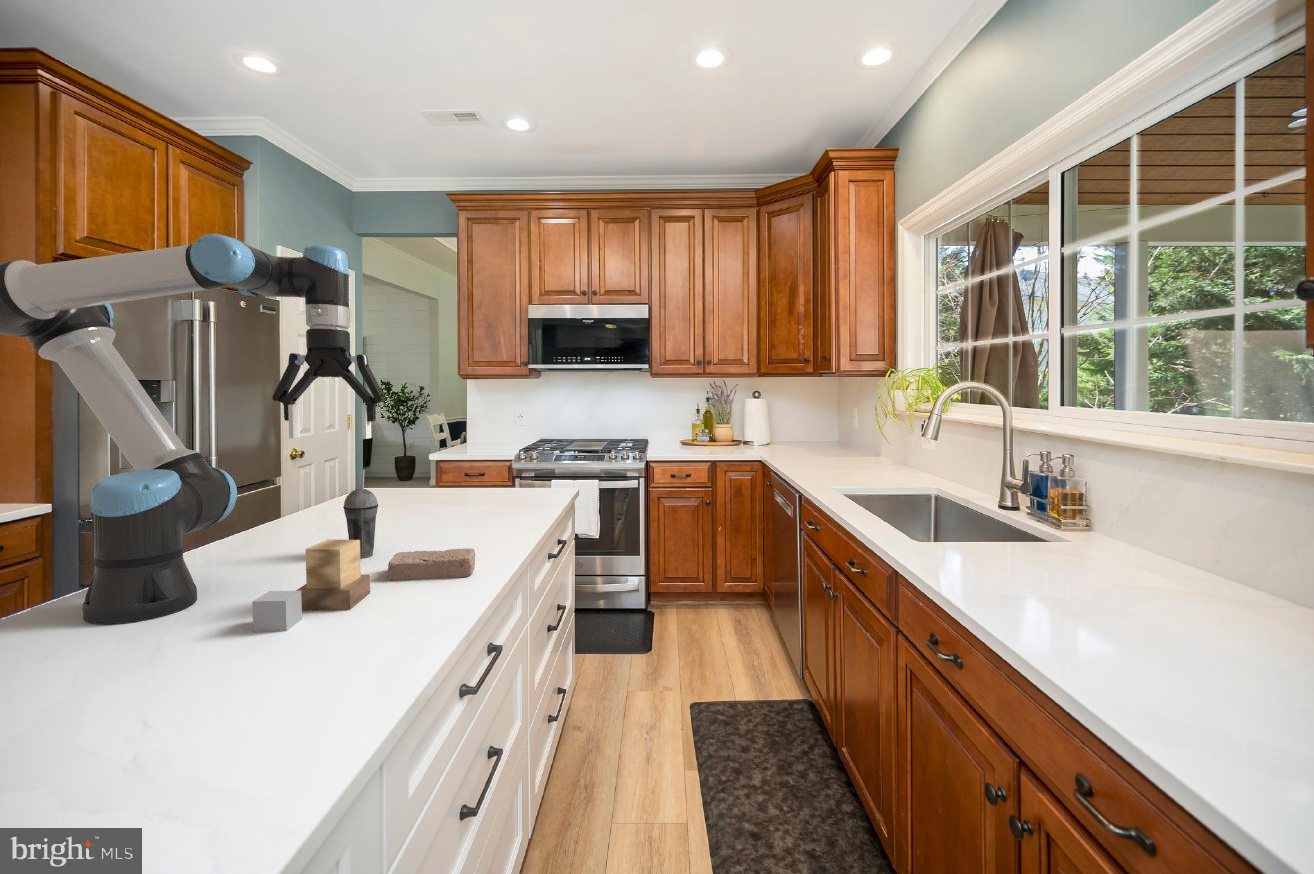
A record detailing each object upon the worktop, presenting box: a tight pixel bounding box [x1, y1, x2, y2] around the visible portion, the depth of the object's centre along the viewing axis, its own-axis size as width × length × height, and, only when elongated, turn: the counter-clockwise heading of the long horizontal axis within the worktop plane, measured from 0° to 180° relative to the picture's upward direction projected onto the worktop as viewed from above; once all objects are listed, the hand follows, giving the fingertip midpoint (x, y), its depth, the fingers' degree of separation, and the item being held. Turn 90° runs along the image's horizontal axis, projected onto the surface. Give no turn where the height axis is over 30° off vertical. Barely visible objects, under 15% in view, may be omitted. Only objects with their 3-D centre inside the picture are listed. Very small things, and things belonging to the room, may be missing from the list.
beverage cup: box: [343, 469, 379, 559], centre depth 139 cm, size 7×7×20 cm
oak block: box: [305, 538, 362, 589], centre depth 109 cm, size 6×7×7 cm
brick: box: [387, 547, 476, 582], centre depth 127 cm, size 17×8×5 cm, turn 102°
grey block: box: [251, 590, 303, 633], centre depth 98 cm, size 5×5×5 cm
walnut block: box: [295, 573, 371, 612], centre depth 110 cm, size 9×9×4 cm
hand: (331, 438), depth 119 cm, fingers open, 13 cm apart
